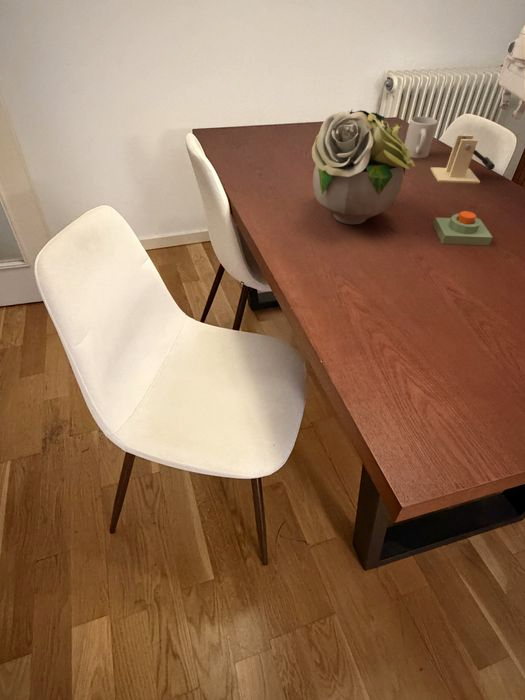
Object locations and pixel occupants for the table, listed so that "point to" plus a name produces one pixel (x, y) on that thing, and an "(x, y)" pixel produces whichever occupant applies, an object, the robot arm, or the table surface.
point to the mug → (420, 136)
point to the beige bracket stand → (458, 162)
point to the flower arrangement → (358, 165)
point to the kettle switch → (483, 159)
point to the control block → (461, 231)
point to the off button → (466, 217)
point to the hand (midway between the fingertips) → (509, 113)
